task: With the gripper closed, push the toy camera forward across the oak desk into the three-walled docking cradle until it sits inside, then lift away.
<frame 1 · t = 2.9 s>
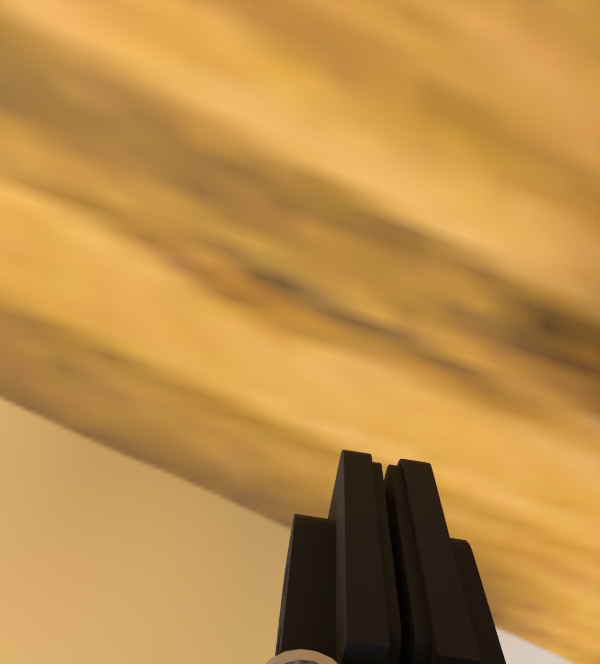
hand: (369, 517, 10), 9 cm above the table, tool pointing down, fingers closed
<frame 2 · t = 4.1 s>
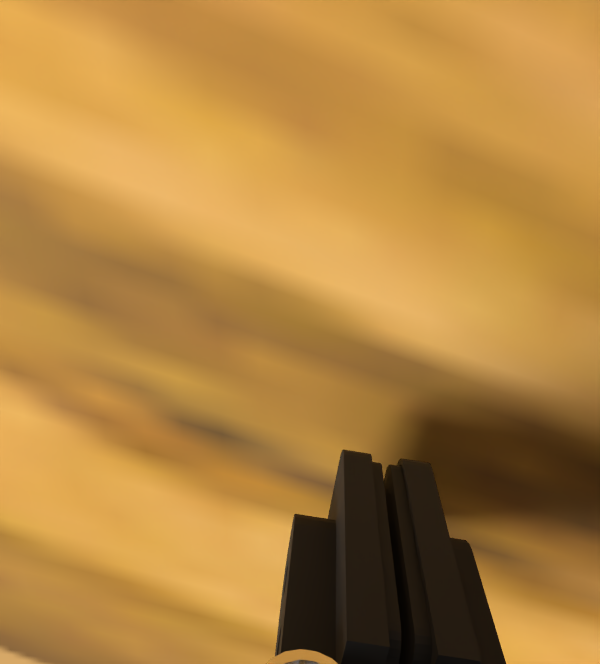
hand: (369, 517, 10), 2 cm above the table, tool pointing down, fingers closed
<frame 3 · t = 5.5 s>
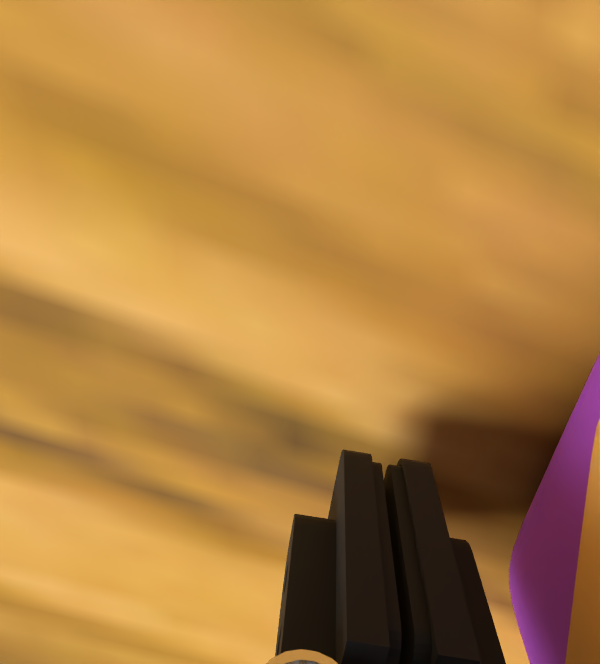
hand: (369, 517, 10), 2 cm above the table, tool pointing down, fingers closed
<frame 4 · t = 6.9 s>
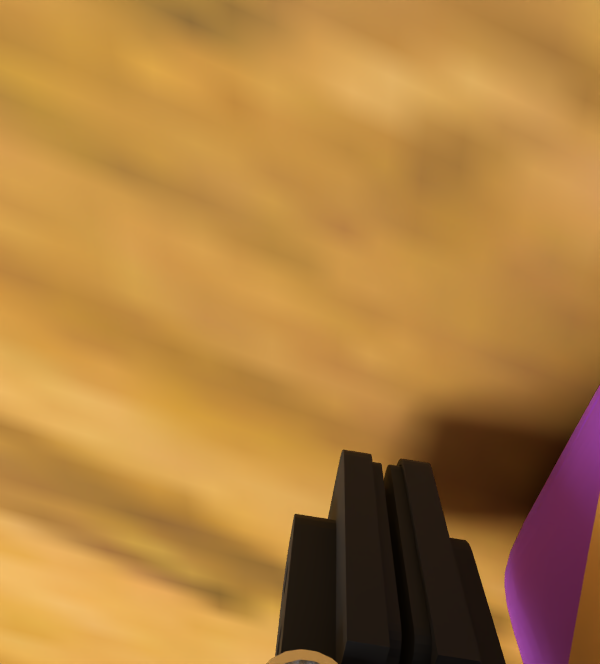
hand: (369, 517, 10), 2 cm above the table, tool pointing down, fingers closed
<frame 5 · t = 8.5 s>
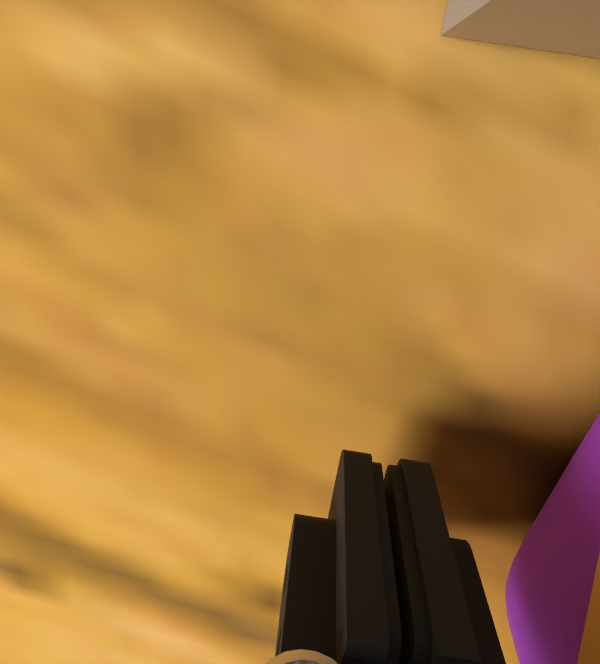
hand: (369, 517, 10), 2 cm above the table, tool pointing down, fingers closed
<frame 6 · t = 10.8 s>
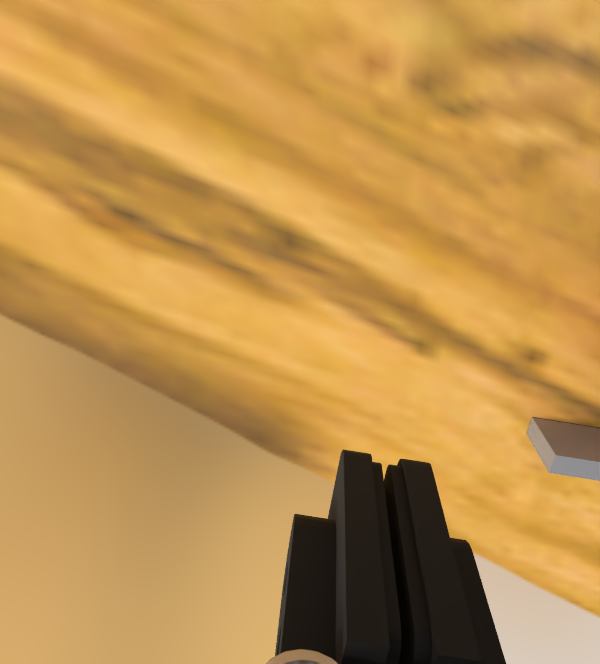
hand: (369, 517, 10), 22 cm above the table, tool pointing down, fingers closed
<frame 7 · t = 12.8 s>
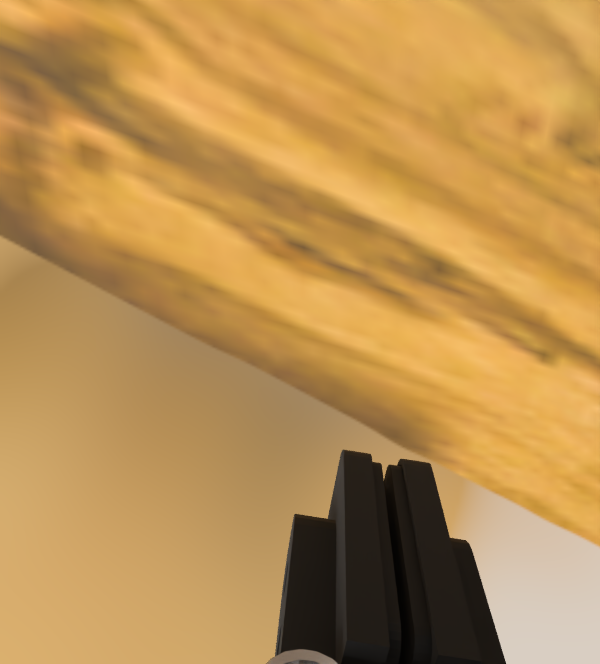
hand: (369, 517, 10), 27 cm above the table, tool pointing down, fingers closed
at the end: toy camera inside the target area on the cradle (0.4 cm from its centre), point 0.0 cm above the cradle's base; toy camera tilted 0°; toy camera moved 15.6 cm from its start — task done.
